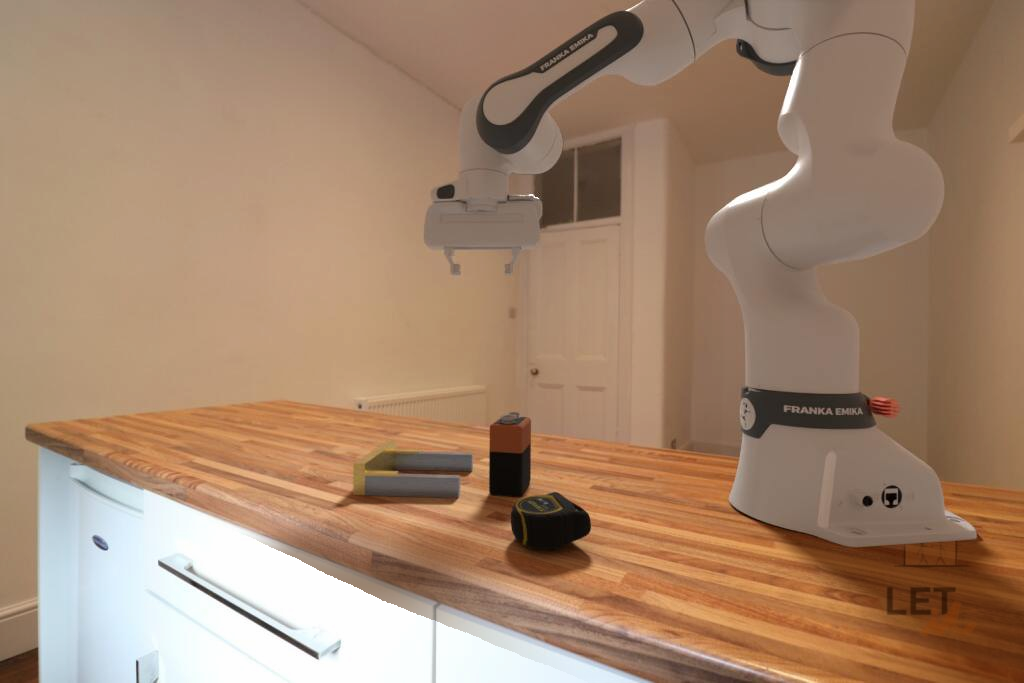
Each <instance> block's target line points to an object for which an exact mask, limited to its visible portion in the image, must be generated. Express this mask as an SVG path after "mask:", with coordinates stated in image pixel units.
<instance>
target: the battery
mask: <svg viewBox="0 0 1024 683" xmlns="http://www.w3.org/2000/svg"><path fill="white" fill-rule="evenodd" d="M520 414H521V413H520V412H518V411H512V412H511V411H509V412H508V414H503V415H500V418H499V419H497V420H496V421H494V422H493V423H491V424H490V425H489V456H488V457H489V458H488V459H489V462H488V463H489V464H488V470H489V471H488V472H489V477H488V480H489V484H488V485H489V486H488V488H489V490H488V492H489V494H490V495H491V496H501V497H502V496H503V497H513V498H521V497H522V496H523V494H524V492H525V491H526V489H527V487H528V486H529V484H530V482H531V474H532V473H531V469H532V468H531V465H532V464H531V463H532V462H531V460H532V459H531V455H532V450H531V449H532V447H531V446H532V438H531V437H532V420H531V418H530V417H527V416H521V415H520Z"/></svg>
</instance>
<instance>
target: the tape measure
mask: <svg viewBox="0 0 1024 683" xmlns="http://www.w3.org/2000/svg"><path fill="white" fill-rule="evenodd" d="M591 522H592V521H591V516H590V514H589V512H587V511H586V510H585V509H584V508H583V507H581V506H580V505H579V504H576V503H575V502H573V501H571V500H570V499H568V498H566V497H565V496H564V495H562V494H561V493H560V492H556V491H552V492H549V493H547V494H535V495H530V496H526V497H523V498H521V499H519V500H518V501H516V502H515V503H514V504H513V506H512V510H511V512H510V527H511V532H512V534H513V536H514V538H515V540H516V541H517V542H518V543H520V544H521V545H523V546H525V547H527V548H529V549H536V550H552V549H553V550H554V549H559V548H563V547H564V546H567V545H569V544H571V543H573V542H576V541H579V540H581V539H583V538H585V537H586V536H588V535H589V534H590V533H591V530H592V523H591Z"/></svg>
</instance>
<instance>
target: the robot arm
mask: <svg viewBox="0 0 1024 683" xmlns="http://www.w3.org/2000/svg"><path fill="white" fill-rule="evenodd" d="M915 5H916V0H642V1H641V2H640V3H638V4H636V5H635V6H633V7H631V8H628V9H626V10H619V11H618V10H617V11H614V12H612V13H609V14H607V15H605V16H602V18H599V19H598V20H597V21H595V22H593V23H591V24H589V26H587V27H585V28H584V29H582V30H581V31H579V32H578V33H576V34H575V35H573V36H572V37H570V38H569V39H568V40H566V41H565V42H563V43H562V44H560V45H559V46H556V47H555V48H554V49H553V50H551V51H550V52H548V53H547V54H545V55H544V56H543V57H541V58H539V59H538V60H537V61H535V62H533V63H532V64H530V65H528V66H527V67H525V68H523V69H521V70H519V71H516V72H513V73H511V74H508V75H504V76H503V77H500V78H499V79H497V80H495V81H494V82H493V83H492V84H490V86H489V87H487V89H486V90H485V91H484V93H481V94H477V95H475V96H473V97H470V98H469V99H468V100H467V101H466V102H465V104H464V106H463V108H462V110H461V114H460V116H459V117H460V118H459V123H458V134H457V135H458V136H457V137H458V138H457V154H458V157H459V158H458V159H459V167H458V168H459V169H458V172H457V179H456V180H453V181H450V182H448V183H445V184H441V185H439V186H436V187H433V188H431V190H430V199H431V202H432V203H431V204H430V205H429V206H428V208H427V209H426V213H425V216H424V217H425V218H424V225H423V242H424V244H425V245H426V247H427V248H428V249H430V250H433V251H435V250H436V251H438V250H439V251H442V250H443V254H444V256H445V257H446V259H447V261H448V263H449V264H450V267H449V268H450V269H449V271H450V275H451V276H461V264H459V263H455V260H454V259H453V257H454V256H455V250H456V251H459V250H461V251H462V250H463V251H467V250H469V251H470V250H471V251H472V250H473V251H475V250H478V251H479V250H481V251H482V250H485V251H487V250H488V251H489V250H490V251H492V250H493V251H496V250H501V251H502V250H505V251H506V250H508V251H509V250H510V251H511V255H512V258H511V260H510V261H509V263H504V268H505V269H504V275H505V276H514V275H515V268H514V267H515V265H516V264H517V261H518V260H519V258H520V257H521V251H523V250H525V251H527V250H537V249H538V248H539V247H540V246H541V229H540V222H539V221H540V220H541V219H542V217H543V214H544V213H543V210H544V209H543V208H544V207H543V206H544V205H543V202H542V201H541V200H540V198H538V197H535V195H534V194H525V195H522V194H509V176H510V174H514V175H525V176H526V175H527V176H529V175H530V176H535V175H537V176H538V175H543V174H545V173H547V172H549V171H551V169H553V168H554V167H555V165H556V164H557V163H558V162H559V160H560V158H561V156H562V153H563V151H564V143H565V142H564V136H563V133H562V132H561V129H560V128H559V126H558V125H557V123H556V121H555V120H554V118H553V117H552V115H551V114H550V113H549V112H550V111H551V110H552V109H553V108H554V107H555V106H557V105H558V104H560V103H561V102H563V101H564V100H565V99H568V97H569V98H570V97H571V95H574V94H575V93H576V92H578V91H580V90H581V89H582V88H584V87H586V86H587V85H588V84H590V83H592V82H593V81H594V80H596V79H599V78H600V77H604V76H609V75H616V76H621V77H623V78H625V79H626V80H628V81H629V82H631V83H633V84H636V85H639V86H644V87H655V86H658V85H660V84H662V83H664V82H665V81H668V80H670V79H671V78H673V77H674V76H676V75H678V74H679V73H680V72H682V71H683V70H684V69H686V68H687V67H688V66H690V65H691V64H692V63H694V62H695V61H696V60H698V59H699V58H700V57H702V56H703V55H704V54H706V53H707V52H708V51H709V50H711V49H712V48H714V46H717V44H719V43H721V42H724V41H726V40H729V39H730V40H731V39H736V44H735V50H736V53H737V54H738V55H739V56H740V57H742V58H744V59H747V60H749V61H750V62H751V63H752V64H753V65H754V66H755V67H756V68H757V69H759V71H761V72H763V73H765V74H768V75H771V76H773V77H774V76H775V77H787V76H791V77H790V81H789V84H788V87H787V90H786V94H785V96H784V100H783V103H782V107H781V110H780V113H779V115H778V119H777V132H778V133H777V134H778V136H779V138H780V140H781V142H782V143H783V145H784V146H785V148H786V149H788V151H790V152H791V153H793V154H794V155H796V156H798V157H797V160H796V163H794V166H793V167H792V169H791V170H790V171H788V173H787V174H786V175H784V176H782V177H780V178H778V179H776V180H773V181H771V182H769V183H766V184H764V185H762V186H760V187H757V188H755V189H753V190H750V191H747V192H745V193H742V194H740V195H739V196H737V197H736V198H734V199H733V200H731V201H730V202H728V203H727V204H726V205H725V206H724V207H722V208H721V209H720V210H718V211H717V212H716V213H715V214H713V216H712V217H711V218H710V220H709V221H708V223H707V225H706V228H705V231H704V232H705V233H704V247H705V252H706V254H707V255H706V256H707V257H708V259H709V260H710V262H711V263H712V265H713V266H714V267H715V268H716V269H717V270H719V271H720V272H721V273H722V274H724V275H725V276H726V278H727V279H728V281H729V283H730V284H731V286H732V289H733V290H734V293H735V296H736V298H737V301H738V304H739V307H740V311H741V316H742V320H743V328H744V355H745V358H744V359H745V362H744V364H745V365H744V366H745V370H744V371H745V372H744V373H745V376H744V378H745V382H744V383H745V384H744V385H742V387H741V392H740V406H739V419H740V431H741V433H742V436H741V437H742V438H741V445H740V446H741V447H740V453H739V454H740V455H739V459H738V463H737V464H738V465H737V470H736V473H735V478H734V481H733V485H732V487H731V491H730V492H729V496H728V501H729V503H730V504H731V505H732V506H733V507H734V508H736V510H738V511H740V512H741V513H743V514H746V515H747V516H749V517H752V518H754V519H756V520H759V521H761V522H764V523H767V524H770V525H773V526H776V527H780V528H782V529H783V528H784V529H787V530H791V531H796V532H799V533H804V534H808V535H811V536H815V537H818V538H820V539H824V540H825V541H829V542H831V543H835V544H838V545H841V546H845V547H849V548H863V547H864V548H866V547H877V546H879V547H881V546H893V545H909V544H910V545H911V544H922V543H923V544H926V543H940V542H954V541H955V542H956V541H969V540H976V539H978V536H977V530H976V529H975V527H974V525H972V524H971V523H970V522H969V521H967V520H966V519H964V518H962V517H960V516H958V515H957V514H954V513H953V512H951V511H949V510H947V509H946V508H945V500H944V492H943V488H942V484H941V481H940V479H939V477H938V475H937V473H936V471H935V470H934V469H933V468H932V467H931V466H929V464H927V463H926V462H925V461H923V460H922V459H920V458H919V457H917V456H916V455H915V454H914V453H912V452H911V451H909V450H908V449H906V448H905V447H903V446H902V445H901V444H900V443H898V442H897V441H895V440H894V439H892V438H891V437H890V436H889V435H887V434H886V433H885V432H883V431H882V430H881V429H879V428H878V427H877V422H876V419H875V417H874V415H876V416H882V417H885V418H887V419H893V418H896V417H898V414H901V411H900V410H901V409H902V407H900V406H901V403H897V402H899V401H898V400H897V399H894V398H885V397H882V396H876V397H873V398H870V397H868V396H867V395H866V394H864V393H862V392H861V391H860V333H861V332H860V331H861V330H860V327H859V324H858V321H857V320H856V318H855V317H854V315H852V314H851V313H850V312H849V311H848V310H846V309H845V308H843V307H842V306H839V305H838V304H835V303H834V302H831V301H829V299H828V298H827V297H826V296H825V294H824V292H823V289H822V288H821V285H820V283H819V279H818V272H817V269H818V267H823V266H829V265H834V264H836V265H837V264H841V263H848V262H854V261H859V260H860V261H861V260H865V259H869V258H872V257H874V256H877V255H880V254H883V253H885V252H888V251H892V250H894V249H896V248H900V247H901V246H903V245H906V244H909V243H912V242H914V241H917V240H918V239H920V238H922V237H923V236H924V235H925V234H927V233H928V231H929V230H930V229H931V228H932V226H933V225H934V223H935V222H936V220H937V218H938V216H939V215H940V212H941V210H942V207H943V204H944V199H945V192H946V191H945V190H946V189H945V181H944V180H945V179H944V175H943V173H942V171H941V168H940V167H939V165H938V164H937V162H936V161H935V160H934V159H933V157H932V156H931V155H930V154H929V153H928V152H926V151H925V150H924V149H922V148H921V147H919V146H917V145H915V144H913V143H910V142H908V141H905V140H904V141H903V140H901V139H898V138H897V137H896V135H895V131H894V129H893V118H894V117H893V116H894V113H895V108H896V103H897V99H898V95H899V91H900V88H901V83H902V79H903V76H904V73H905V68H906V65H907V62H908V57H909V53H910V49H911V44H912V39H913V35H914V34H913V33H914V26H915V12H916V7H915Z"/></svg>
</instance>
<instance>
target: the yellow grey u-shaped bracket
mask: <svg viewBox="0 0 1024 683" xmlns="http://www.w3.org/2000/svg"><path fill="white" fill-rule="evenodd" d="M401 470H402V471H403V470H404V471H405V470H406V471H434V472H435V471H437V472H438V471H442V472H443V471H445V472H473V470H474V452H451V451H422V449H414V448H413V449H407V448H406V449H403V448H397V441H394V440H393V441H392V440H390V441H389V440H386V441H384V442H383V443H382V444H379V446H377V447H376V448H374V449H373V450H371V451H370V452H368V453H367V454H365V455H364V456H362V457H361V458H359V459H357V461H355V462H353V470H352V471H353V472H352V474H353V478H352V479H353V481H352V482H353V484H352V486H353V487H352V491H353V492H352V494H353V496H376V497H377V496H378V497H379V496H381V497H407V498H409V497H411V498H412V497H416V498H443V499H444V498H447V499H448V498H449V499H459V497H460V496H461V475H460V474H433V473H431V474H430V473H429V474H425V473H423V474H422V473H400V472H399V471H401Z"/></svg>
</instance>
